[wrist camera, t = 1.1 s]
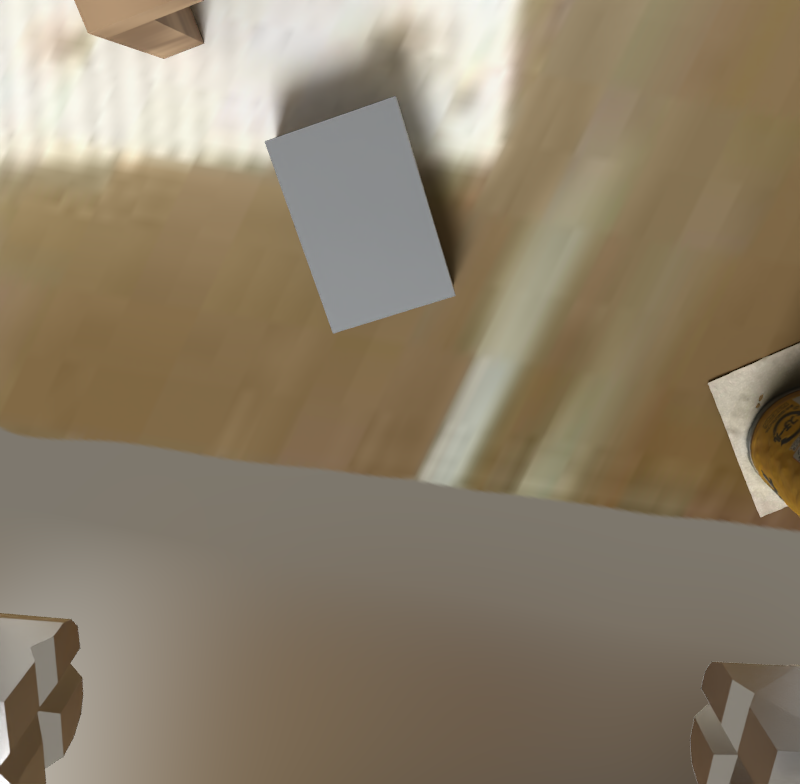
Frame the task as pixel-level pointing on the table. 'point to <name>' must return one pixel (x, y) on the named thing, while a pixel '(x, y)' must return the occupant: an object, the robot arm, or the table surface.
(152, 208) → the table surface
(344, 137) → the grey rectangular block
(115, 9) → the shelf
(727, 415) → the condiment
